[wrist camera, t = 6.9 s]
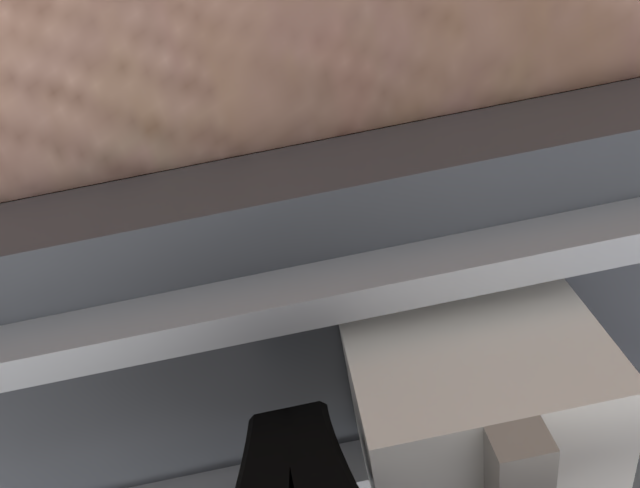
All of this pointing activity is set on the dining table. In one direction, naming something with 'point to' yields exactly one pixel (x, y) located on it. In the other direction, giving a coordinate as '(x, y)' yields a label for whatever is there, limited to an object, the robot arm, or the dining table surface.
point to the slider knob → (494, 394)
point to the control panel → (292, 279)
